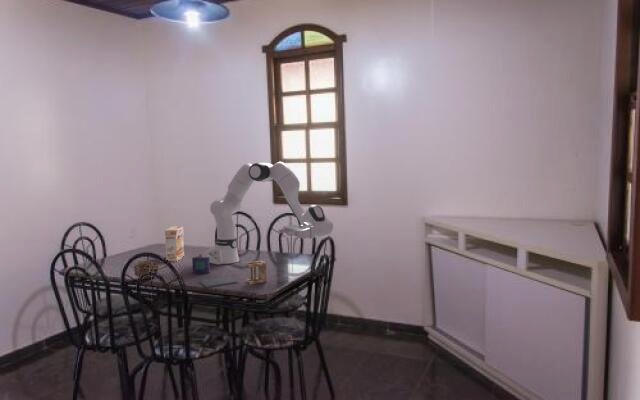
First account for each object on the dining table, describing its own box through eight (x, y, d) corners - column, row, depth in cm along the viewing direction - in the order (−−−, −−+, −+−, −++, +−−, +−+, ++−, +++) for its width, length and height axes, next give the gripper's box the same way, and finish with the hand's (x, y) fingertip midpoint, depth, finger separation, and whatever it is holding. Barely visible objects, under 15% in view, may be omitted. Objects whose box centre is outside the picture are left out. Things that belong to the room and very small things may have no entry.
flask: (210, 272, 257) (209, 253, 256) (209, 273, 255) (208, 254, 253) (193, 272, 257) (192, 253, 255) (192, 274, 254) (191, 254, 253)
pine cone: (141, 283, 236) (140, 264, 235) (129, 280, 241) (128, 262, 240) (175, 273, 255) (175, 255, 254) (164, 271, 260) (163, 253, 259)
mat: (229, 277, 246) (229, 276, 246) (237, 282, 236) (237, 281, 236) (199, 282, 237) (199, 280, 237) (206, 287, 228) (206, 286, 228)
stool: (262, 279, 242) (261, 260, 241) (266, 281, 238) (266, 262, 237) (245, 281, 238) (245, 262, 237) (250, 284, 233) (249, 265, 232)
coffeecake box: (177, 261, 282) (176, 230, 280) (165, 261, 282) (164, 230, 280) (184, 256, 297) (183, 226, 295) (173, 256, 297) (172, 226, 295)
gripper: (296, 221, 259) (274, 224, 252) (315, 226, 242) (291, 229, 234) (296, 233, 260) (274, 235, 253) (315, 238, 242) (292, 241, 235)
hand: (282, 232), depth 243 cm, fingers open, 8 cm apart
